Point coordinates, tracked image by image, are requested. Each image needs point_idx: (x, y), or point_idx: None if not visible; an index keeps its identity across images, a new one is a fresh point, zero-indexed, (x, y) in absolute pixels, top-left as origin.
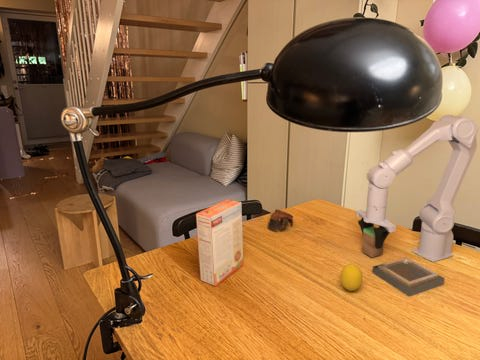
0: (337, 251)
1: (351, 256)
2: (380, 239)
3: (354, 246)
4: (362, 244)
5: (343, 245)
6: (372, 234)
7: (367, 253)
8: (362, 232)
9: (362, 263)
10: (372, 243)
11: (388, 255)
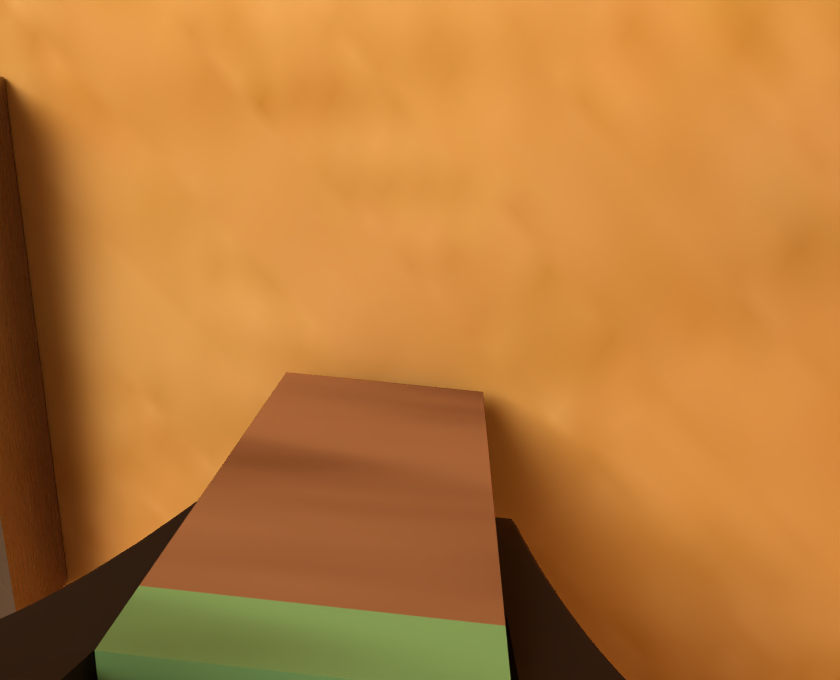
0: (727, 114)
1: (486, 185)
2: None
3: (668, 446)
4: (481, 445)
5: (793, 344)
6: (168, 629)
7: (367, 389)
8: (565, 624)
9: (257, 165)
10: (222, 484)
11: None
